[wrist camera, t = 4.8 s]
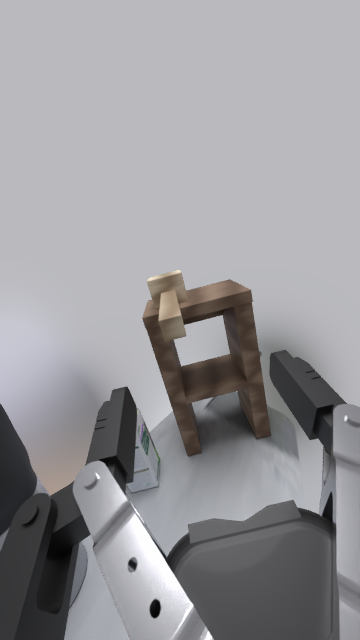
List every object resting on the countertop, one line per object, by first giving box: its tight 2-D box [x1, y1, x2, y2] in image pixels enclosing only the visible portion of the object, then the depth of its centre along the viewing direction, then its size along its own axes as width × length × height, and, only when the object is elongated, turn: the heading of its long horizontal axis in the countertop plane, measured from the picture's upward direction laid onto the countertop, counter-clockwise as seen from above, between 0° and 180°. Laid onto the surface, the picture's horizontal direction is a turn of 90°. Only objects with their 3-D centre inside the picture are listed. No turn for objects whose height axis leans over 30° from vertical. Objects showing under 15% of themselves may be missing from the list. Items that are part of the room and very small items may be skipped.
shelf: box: [143, 280, 271, 456], centre depth 45 cm, size 18×12×32 cm, turn 94°
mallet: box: [147, 270, 188, 342], centre depth 32 cm, size 6×20×5 cm, turn 4°
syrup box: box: [127, 409, 160, 492], centre depth 42 cm, size 6×6×14 cm
